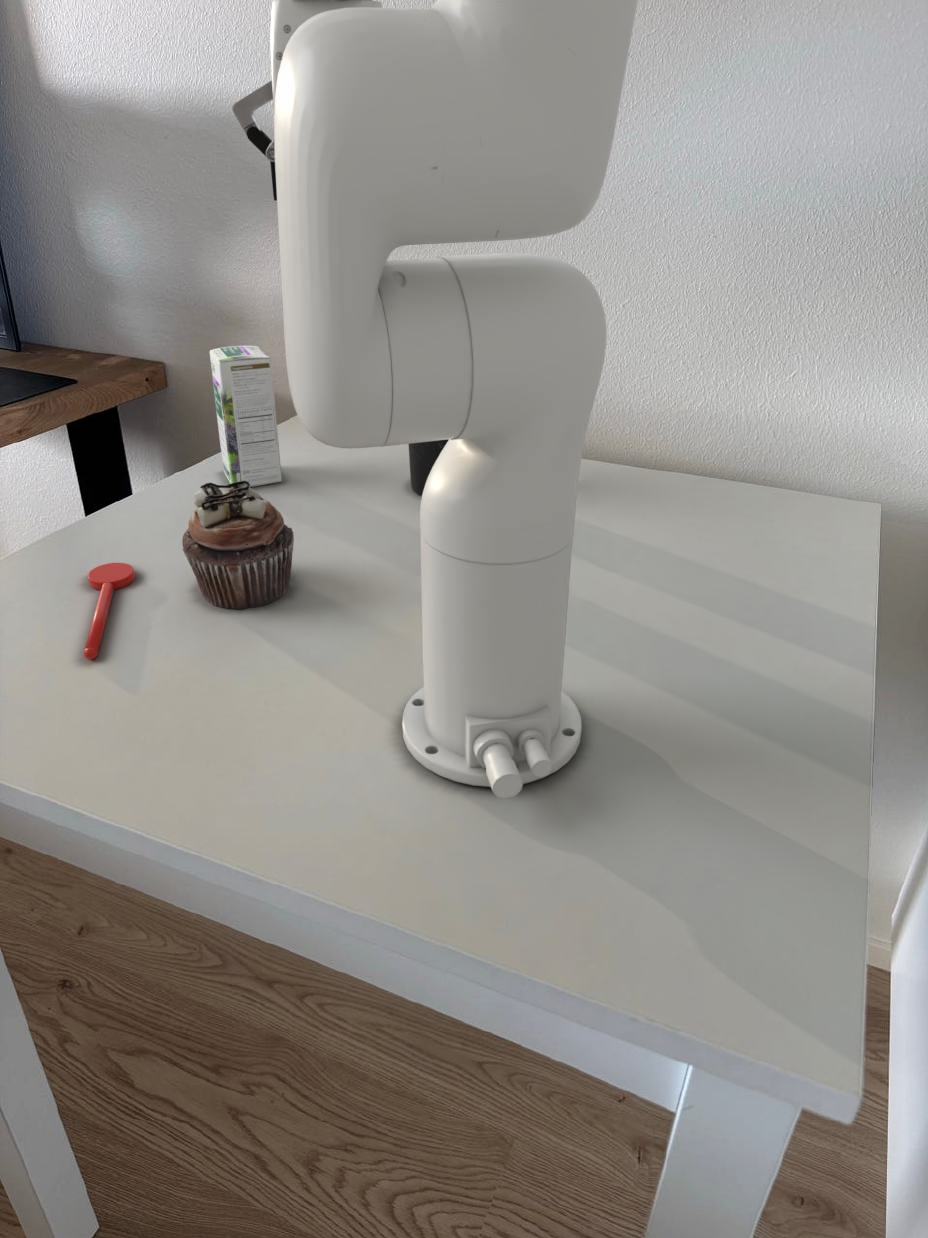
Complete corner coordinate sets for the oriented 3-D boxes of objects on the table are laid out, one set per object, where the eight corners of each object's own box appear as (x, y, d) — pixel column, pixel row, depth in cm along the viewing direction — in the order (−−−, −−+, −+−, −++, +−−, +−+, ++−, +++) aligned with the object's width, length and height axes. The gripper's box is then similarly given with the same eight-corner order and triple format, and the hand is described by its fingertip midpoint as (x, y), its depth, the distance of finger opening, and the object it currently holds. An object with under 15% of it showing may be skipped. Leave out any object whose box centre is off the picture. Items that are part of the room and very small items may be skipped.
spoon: (117, 658, 72) (115, 648, 71) (64, 664, 71) (61, 653, 71) (137, 568, 85) (135, 558, 85) (92, 572, 85) (90, 562, 84)
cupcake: (314, 599, 80) (304, 494, 75) (204, 624, 77) (186, 515, 71) (281, 556, 88) (270, 457, 83) (179, 577, 84) (162, 475, 79)
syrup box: (222, 473, 106) (205, 348, 99) (272, 465, 108) (258, 342, 101) (233, 490, 102) (216, 360, 94) (285, 482, 104) (272, 354, 97)
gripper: (212, -25, 70) (239, 215, 79) (435, -22, 72) (437, 213, 81) (224, -16, 77) (248, 205, 85) (428, -13, 78) (431, 204, 87)
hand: (340, 209), depth 83 cm, fingers open, 9 cm apart
